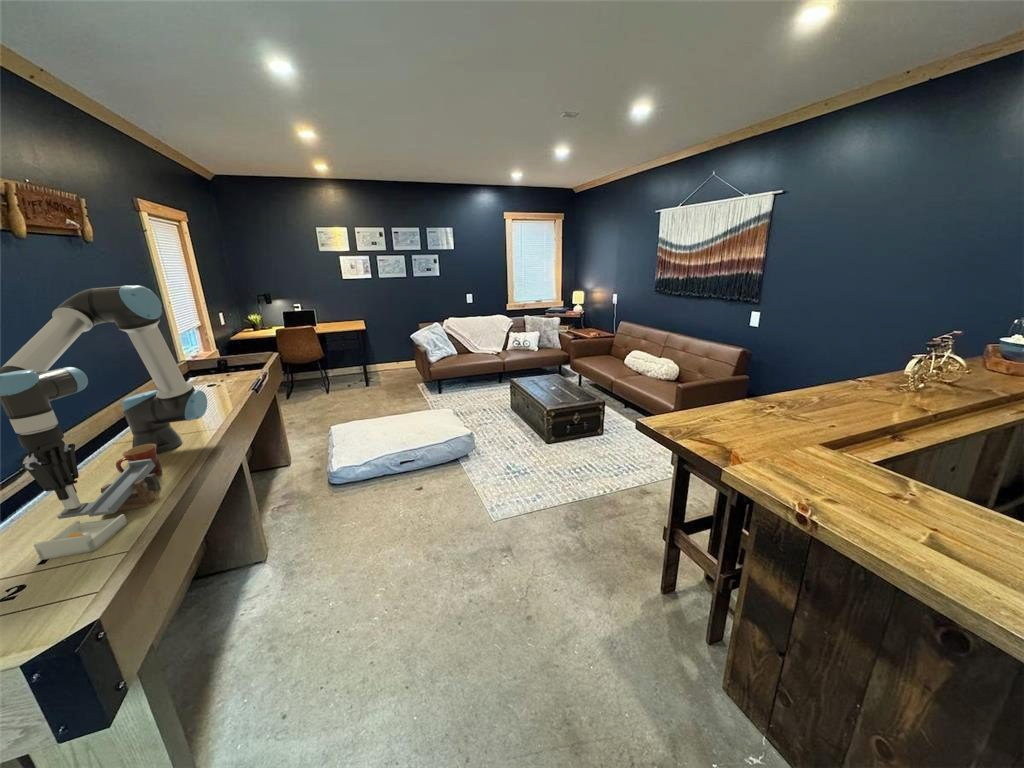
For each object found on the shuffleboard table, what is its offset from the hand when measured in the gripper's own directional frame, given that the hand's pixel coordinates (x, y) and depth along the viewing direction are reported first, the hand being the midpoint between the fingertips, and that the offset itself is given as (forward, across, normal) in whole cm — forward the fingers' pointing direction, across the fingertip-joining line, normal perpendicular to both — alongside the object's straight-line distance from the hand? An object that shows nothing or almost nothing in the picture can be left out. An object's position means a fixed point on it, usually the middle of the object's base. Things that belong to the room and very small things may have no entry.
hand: (73, 507), depth 110 cm
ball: (+4, +12, +8) cm, 15 cm away
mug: (+6, -26, 0) cm, 27 cm away
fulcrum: (+6, -11, +8) cm, 15 cm away
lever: (0, -7, +4) cm, 8 cm away
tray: (+6, +9, +8) cm, 13 cm away
